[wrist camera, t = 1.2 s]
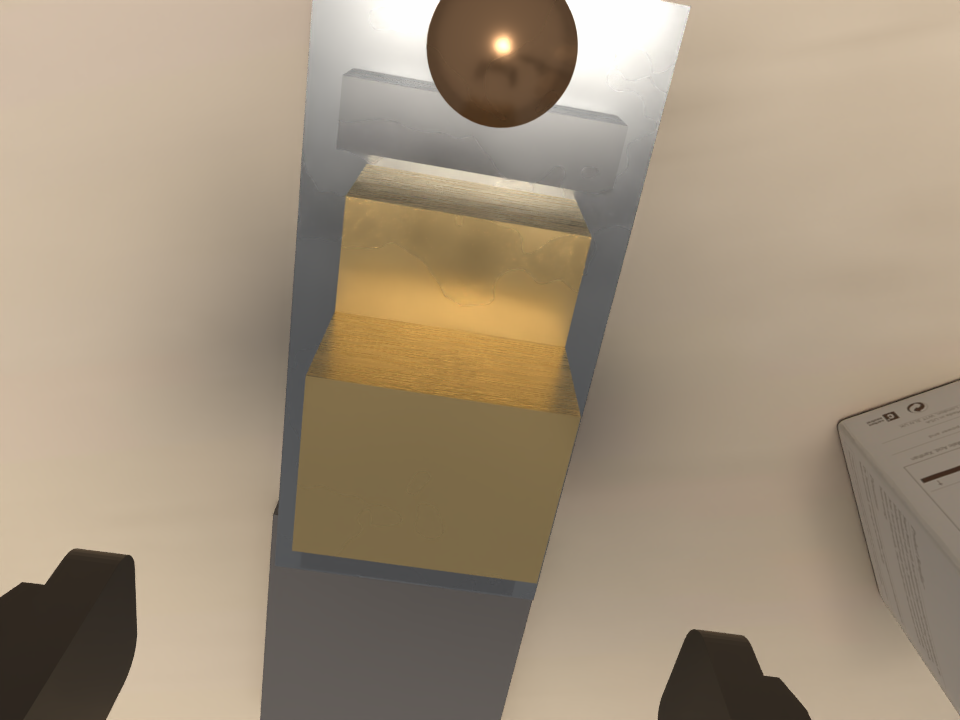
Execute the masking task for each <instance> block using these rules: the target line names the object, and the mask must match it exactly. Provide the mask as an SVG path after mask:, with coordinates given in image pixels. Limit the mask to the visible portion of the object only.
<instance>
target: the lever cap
mask: <svg viewBox="0 0 960 720" xmlns="http://www.w3.org/2000/svg"><path fill="white" fill-rule="evenodd" d="M591 238H592V237H591V234H590V232H589V230H588V227H587V225H586V223H585V220H584V218H583V216H582V214H581V211H580V209H579V207H578V204H577V202H576V200H573V199H568V198H562V197H556V196H550V195H544V194H538V193H533V192H527V191H521V190H515V189H509V188H503V187H497V186H492V185H486V184H480V183H474V182H468V181H462V180H457V179H451V178H445V177H439V176H433V175H427V174H422V173H416V172H410V171H404V170H398V169H392V168H387V167H381V166H375V165H369V164H366V166H365V167H364V169H363V170H362V172H361V173H360V175H359V176H358V178H357V180H356V181H355V183H354V184H353V186H352V187H351V189H350V190H349V192H348V193H347V195H346V200H345V210H344V221H343V232H342V242H341V253H340V264H339V274H338V285H337V296H336V306H335V312H334V314H333V317H332V319H331V321H330V323H329V325H328V328H327V330H326V332H325V334H324V336H323V339H322V341H321V343H320V345H319V347H318V350H317V352H316V354H315V356H314V358H313V361H312V363H311V365H310V367H309V370H308V372H307V374H306V378H305V391H304V404H303V416H302V429H301V442H300V454H299V467H298V480H297V493H296V505H295V518H294V531H293V544H292V551H298V552H305V553H313V554H320V555H328V556H335V557H342V558H350V559H357V560H365V561H372V562H380V563H387V564H395V565H402V566H409V567H417V568H424V569H432V570H439V571H447V572H454V573H462V574H469V575H477V576H484V577H491V578H499V579H506V580H514V581H521V582H529V583H536V584H537V581H538V577H539V574H540V570H541V566H542V562H543V559H544V555H545V551H546V547H547V544H548V540H549V536H550V532H551V528H552V525H553V521H554V517H555V513H556V510H557V506H558V502H559V498H560V494H561V491H562V487H563V483H564V479H565V476H566V472H567V468H568V464H569V460H570V457H571V453H572V449H573V445H574V442H575V438H576V434H577V430H578V427H579V423H580V419H581V415H580V411H579V406H578V402H577V398H576V393H575V389H574V384H573V380H572V375H571V371H570V367H569V362H568V358H567V353H566V349H565V345H566V341H567V337H568V333H569V329H570V325H571V320H572V316H573V312H574V308H575V304H576V300H577V296H578V292H579V287H580V283H581V279H582V275H583V271H584V267H585V263H586V259H587V255H588V250H589V246H590V242H591Z"/></svg>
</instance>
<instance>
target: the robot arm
mask: <svg viewBox="0 0 960 720" xmlns="http://www.w3.org/2000/svg"><path fill="white" fill-rule="evenodd" d="M136 641H137V617H136V589H135V565H134V560H133V558H132V556H130V555H124V554H116V553H108V552H100V551H92V550H85V549H77V548H76V549H73V550H71V551H70V552H69V553H68V554H67V555H66V556H65V557H64V559H63V560H62V561H61V563H60V564H59V566H58V567H57V568H56V570H55V571H54V573H53V574H52V575H51V577H50V578H49V580H48V581H47V582H46V584H45V585H41V584H33V583H25V582H22V583H20V584H19V585H17V586H16V587H15V588H13V589H12V590H10V591H9V592H7V593H6V594H4V595H3V596H2V597H0V720H106V718H107V716H108V714H109V712H110V710H111V708H112V706H113V704H114V702H115V700H116V698H117V696H118V695H119V693H120V691H121V689H122V687H123V685H124V682H125V680H126V678H127V676H128V673H129V670H130V667H131V664H132V661H133V657H134V653H135V648H136ZM658 720H811V718H810V716H809V714H808V712H807V710H806V709H805V707H804V706H803V705H802V704H801V703H800V702H799V700H798V699H797V698H796V697H795V696H794V695H793V693H792V692H791V691H790V690H789V689H788V687H787V686H786V685H785V684H784V683H783V682H782V680H781V679H780V678H777V677H769V676H764V675H763V673H762V670H761V668H760V666H759V663H758V661H757V658H756V656H755V653H754V651H753V649H752V646H751V644H750V642H749V641H748V640H747V638H745V637H744V636H742V635H735V634H727V633H719V632H712V631H704V630H696V629H693V630H691V631H690V632H689V633H688V634H687V636H686V638H685V640H684V643H683V645H682V648H681V650H680V653H679V655H678V658H677V660H676V663H675V665H674V668H673V670H672V673H671V675H670V678H669V680H668V683H667V685H666V688H665V690H664V693H663V695H662V698H661V701H660V705H659V712H658Z"/></svg>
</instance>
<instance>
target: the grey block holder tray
mask: <svg viewBox="0 0 960 720" xmlns="http://www.w3.org/2000/svg"><path fill="white" fill-rule="evenodd" d="M690 8H691V6H686V5H681V4H675V3H670V2H665V1H660V0H312V13H311V28H310V43H309V58H308V73H307V88H306V103H305V118H304V133H303V148H302V163H301V178H300V193H299V208H298V223H297V239H296V254H295V269H294V284H293V299H292V314H291V329H290V344H289V359H288V374H287V389H286V404H285V419H284V434H283V449H282V464H281V479H280V494H279V509H278V524H277V539H276V554H275V566H279V567H286V568H294V569H301V570H309V571H317V572H324V573H332V574H339V575H347V576H354V577H362V578H369V579H377V580H384V581H392V582H400V583H407V584H415V585H422V586H430V587H437V588H445V589H452V590H460V591H467V592H475V593H483V594H490V595H498V596H505V597H513V598H520V599H528V600H533V599H534V595H535V592H536V588H537V584H538V581H537V584H536V583H529V582H521V581H514V580H506V579H499V578H491V577H484V576H477V575H469V574H462V573H454V572H447V571H439V570H432V569H424V568H417V567H409V566H402V565H395V564H387V563H380V562H372V561H365V560H357V559H350V558H342V557H335V556H328V555H320V554H313V553H305V552H298V551H292V544H293V531H294V518H295V505H296V493H297V480H298V467H299V454H300V442H301V429H302V416H303V404H304V391H305V378H306V374H307V372H308V370H309V367H310V365H311V363H312V361H313V358H314V356H315V354H316V352H317V350H318V347H319V345H320V343H321V341H322V339H323V336H324V334H325V332H326V330H327V328H328V325H329V323H330V321H331V319H332V317H333V314H334V312H335V306H336V296H337V285H338V274H339V264H340V253H341V242H342V232H343V221H344V210H345V200H346V195H347V193H348V192H349V190H350V189H351V187H352V186H353V184H354V183H355V181H356V180H357V178H358V176H359V175H360V173H361V172H362V170H363V169H364V167H365V166H366V164H369V165H375V166H381V167H387V168H392V169H398V170H404V171H410V172H416V173H422V174H427V175H433V176H439V177H445V178H451V179H457V180H462V181H468V182H474V183H480V184H486V185H492V186H497V187H503V188H509V189H515V190H521V191H527V192H533V193H538V194H544V195H550V196H556V197H562V198H568V199H573V200H576V202H577V204H578V207H579V209H580V211H581V214H582V216H583V218H584V220H585V223H586V225H587V227H588V230H589V232H590V234H591V237H592V238H591V242H590V246H589V250H588V255H587V259H586V263H585V267H584V271H583V275H582V279H581V283H580V287H579V292H578V296H577V300H576V304H575V308H574V312H573V316H572V320H571V325H570V329H569V333H568V337H567V341H566V345H565V349H566V353H567V358H568V362H569V367H570V371H571V375H572V380H573V384H574V389H575V393H576V398H577V402H578V406H579V411H580V415H581V418H582V415H583V411H584V407H585V403H586V400H587V396H588V392H589V388H590V384H591V381H592V377H593V373H594V369H595V366H596V362H597V358H598V354H599V351H600V347H601V343H602V339H603V336H604V332H605V328H606V324H607V320H608V317H609V313H610V309H611V305H612V302H613V298H614V294H615V290H616V287H617V283H618V279H619V275H620V271H621V268H622V264H623V260H624V256H625V253H626V249H627V245H628V241H629V238H630V234H631V230H632V226H633V223H634V219H635V215H636V211H637V207H638V204H639V200H640V196H641V192H642V189H643V185H644V181H645V177H646V174H647V170H648V166H649V162H650V158H651V155H652V151H653V147H654V143H655V140H656V136H657V132H658V128H659V125H660V121H661V117H662V113H663V110H664V106H665V102H666V98H667V94H668V91H669V87H670V83H671V79H672V76H673V72H674V68H675V64H676V61H677V57H678V53H679V49H680V45H681V42H682V38H683V34H684V30H685V27H686V23H687V19H688V15H689V12H690ZM580 422H581V419H580ZM579 426H580V423H579ZM578 430H579V427H578ZM578 430H577V433H578ZM576 437H577V434H576ZM575 441H576V438H575ZM574 445H575V442H574ZM574 445H573V448H574ZM572 452H573V449H572ZM571 456H572V453H571ZM570 460H571V457H570ZM570 460H569V464H570ZM569 464H568V467H569ZM567 471H568V468H567ZM566 475H567V472H566ZM565 479H566V476H565ZM565 479H564V482H565ZM563 486H564V483H563ZM562 490H563V487H562ZM561 494H562V491H561ZM561 494H560V497H561ZM559 501H560V498H559ZM558 505H559V502H558ZM557 509H558V506H557ZM556 513H557V510H556ZM556 513H555V516H556ZM554 520H555V517H554ZM553 524H554V521H553ZM552 528H553V525H552ZM552 528H551V531H552ZM550 535H551V532H550ZM549 539H550V536H549ZM548 543H549V540H548ZM547 546H548V544H547ZM546 550H547V547H546ZM545 554H546V551H545ZM544 558H545V555H544ZM543 561H544V559H543ZM542 565H543V562H542ZM541 569H542V566H541ZM540 573H541V570H540ZM539 577H540V574H539ZM539 577H538V580H539Z"/></svg>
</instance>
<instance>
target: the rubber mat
mask: <svg viewBox="0 0 960 720" xmlns="http://www.w3.org/2000/svg"><path fill="white" fill-rule="evenodd" d="M278 509H279V501H278V504H277V506H276V509H275V511H274V514H273V526H272V542H271V557H270V573H269V589H268V605H267V621H266V637H265V653H264V668H263V684H262V700H261V716H260V720H501V716H502V712H503V709H504V705H505V701H506V697H507V693H508V690H509V686H510V682H511V678H512V675H513V671H514V667H515V663H516V659H517V656H518V652H519V648H520V644H521V641H522V637H523V633H524V629H525V625H526V622H527V618H528V614H529V610H530V607H531V603H532V600H528V599H520V598H513V597H505V596H498V595H490V594H483V593H475V592H467V591H460V590H452V589H445V588H437V587H430V586H422V585H415V584H407V583H400V582H392V581H384V580H377V579H369V578H362V577H354V576H347V575H339V574H332V573H324V572H317V571H309V570H301V569H294V568H286V567H279V566H275V554H276V539H277V524H278Z"/></svg>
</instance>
